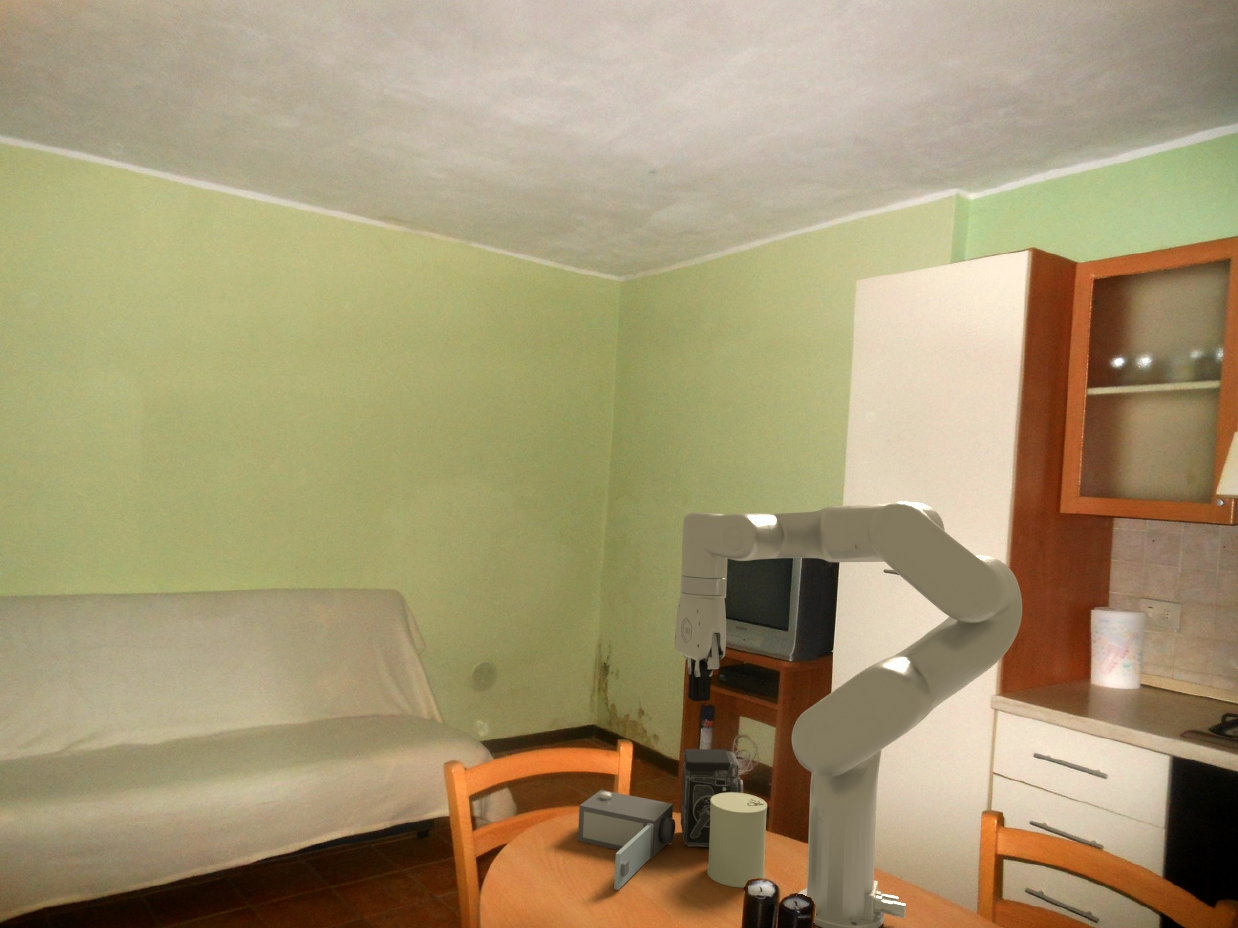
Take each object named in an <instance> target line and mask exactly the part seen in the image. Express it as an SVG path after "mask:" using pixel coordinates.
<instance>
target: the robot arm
mask: <svg viewBox="0 0 1238 928" xmlns="http://www.w3.org/2000/svg"><path fill="white" fill-rule="evenodd" d="M945 529H946V528H945V525H944V521H943V520H942V518H941V516H940V514H939V513H938V512H937V511H936V510H935V509H934V508H932V507H931V506H928V505H926V504H924V503H921V502H912V501H911V502H910V501H896V502H890V503H877V504H875V503H874V504H855V505H854V504H853V505H852V504H851V505H833V506H825V507H824V508H821V509H819V510H814V511H813V510H812V511H804V512H802V511H801V512H782V513H780V512H779V513H760V512H759V513H757V512H755V513H753V512H747V513H744V512H743V513H732V514H731V513H730V514H723V513H718V512H703V511H702V512H700V511H699V512H698V511H694V512H688V513H687V514H686V515H685V516H684V517H683V524H682V543H681V544H682V546H681V549H682V550H681V570H680V571H681V572H680V573H681V574H680V592H679V593H680V594H679V595H680V596H679V600H678V605H677V611H676V621H675V630H674V631H675V632H674V649H675V650H676V652H677V653H679V654H681V655H682V657H683V658H684V659H685V660H686V661H687V673H688V674H689V675H688V689H687V690H688V695H687V696H688V697H687V698H688V699H689V700H691V701H692V702H709V701H710V700H711V687H712V686H711V685H712V684H711V682H712V681H711V680H712V676H713V672H714V670H718V669H720V661H721V660H722V659H723V658H724V657H725V656H726V648H727V647H726V646H727V618H726V617H727V613H726V602H725V599H726V598H727V581H728V580H727V579H728V578H727V575H728V560H732V561H733V560H734V561H736V562H738V561H739V562H745V561H746V562H748V561H753V560H756V561H757V560H770V559H820V560H824V561H826V562H828V563H877V562H878V563H879V562H880V563H882V562H884V563H886V564H887V566H889V568H890V569H892V570H893V571H894V572H895V573H897V574H898V575H899V577H901V578H902V579H903V580H905V581H906V583H908V584H909V585H910V586H911V587H913V588H914V589H915V590H916V591H917V592H918V593H920V594H921V595H922V596H923V597H924V598H925V599H926V600H928V601H929V603H931V604H932V605H934V607H936V608H937V609H938V610H940V612H942V613H944V614H945V615H946V616H948V617H947V618H946V619H945V620H944V621H942V622H941V623H939V624H938V625H937V626H935V627H934V628H932V629H931V630H929V631H928V632H926V633H925V634H924V635H923V636H922V637H921V638H919V639H917V640H916V641H915V642H913V643H912V644H910V645H909V646H907V647H906V648H904V649H903V650H901V651H900V652H898V653H896V654H895V655H892V656H890V657H887V658H885V659H882V660H880V661H877V662H876V663H874V664H872V665H870V666H868V667H866V668H865V669H863V670H861V671H860V672H859V673H857V674H856V675H854V676H853V677H852V678H850V679H848V680H847V681H846V682H844V683H842V685H840V686H839V687H837V688H836V689H834V690H832V692H830V693H829V694H827V695H826V696H825V697H823V698H821V699H820V700H819V701H816V703H814V704H813V705H812V706H810V707H809V708H808V709H806V710H805V711H803V712H802V713H801V714H800V716H798V717H797V719H796V720H795V724H794V725H793V728H792V732H791V745H792V751H793V753H794V756H795V758H796V759H797V760H798V761H797V762H798V763H799V764H800V765H801V766H802V767H803V768H804V769H805V770H807V771H809V772H810V773H811V778H810V789H809V790H810V791H809V792H810V793H809V812H808V813H809V815H808V816H809V817H808V818H809V819H808V840H807V841H808V843H807V844H808V846H807V848H808V849H807V870H806V871H807V873H806V875H807V876H806V877H807V878H806V888H803V889H802V890H800V891H799V892H798V893H797V894H803V895H805V896H807V897H811V898H812V900H813V901H814V902H815V904H816V916H815V924H814V925H815V926H817V927H820V928H880V927H881V926H882V925H883V923H884V921H885V915H891V916H892V917H896V918H899V919H905V918H906V903H904V902H899V896H896V895H893V894H885V893H882V892H883V891H881V890H879V881H878V880H875V859H876V858H875V857H876V855H875V854H876V851H875V850H876V827H877V825H876V824H877V823H876V822H877V821H876V820H877V807H878V806H877V803H878V801H877V800H878V782H879V770H880V765H881V764H880V763H881V757H882V749H885V748H886V747H888V746H889V745H891V744H892V743H894V742H895V741H897V740H898V739H899V738H901V737H902V736H904V735H906V734H907V733H909V732H910V731H911V730H912V729H914V728H915V727H916V726H917V725H918V724H920V723H921V722H922V721H923V720H925V719H926V718H927V717H928V716H929V715H930V713H931V712H932V711H933V710H934V709H936V708H937V707H938V706H939V705H941V704H942V703H944V702H945V701H947V699H949V698H951V697H953V695H956V694H957V693H958V692H960V691H961V690H963V689H964V688H965V687H967V686H968V685H969V684H971V683H972V682H974V681H975V680H977V678H979V677H981V676H982V675H983V674H984V673H986V672H987V671H988V670H990V669H991V668H993V666H995V665H996V664H997V663H998V662H999V661H1000V660H1001V659H1002V658H1003V657H1004V656H1005V655H1006V653H1007V652H1008V651H1009V649H1010V648H1011V646H1012V644H1013V643H1014V641H1015V639H1016V637H1017V635H1018V633H1019V630H1020V627H1021V622H1022V617H1023V599H1022V592H1021V589H1020V585H1019V582H1018V579H1017V577H1016V576H1015V574H1014V572H1013V571H1012V570H1011V568H1010V567H1009V565H1006V563H1004V562H1003V561H1002V560H999V559H998V558H995V557H993V556H987V555H975V554H974V553H973V552H971V551H970V550H969V549H967V548H966V547H965V546H963V545H962V544H961V542H959V541H957V539H955V538H953V537H952V536H951V535H950V534H949V533H947V532H946V531H945Z"/></svg>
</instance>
